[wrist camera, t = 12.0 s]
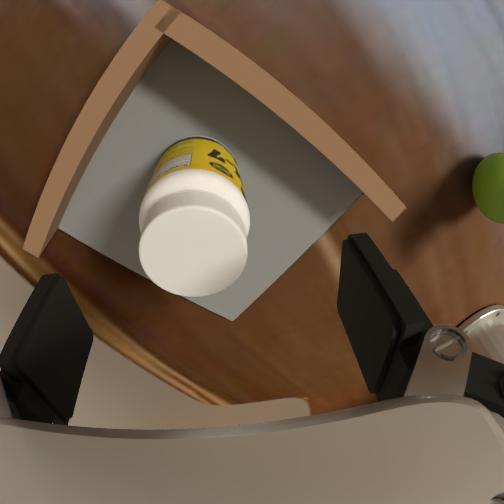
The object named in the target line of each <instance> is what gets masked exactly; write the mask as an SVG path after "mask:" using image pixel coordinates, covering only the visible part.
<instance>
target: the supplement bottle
mask: <svg viewBox="0 0 504 504" xmlns="http://www.w3.org/2000/svg"><path fill="white" fill-rule="evenodd" d="M139 227H140V232H141V236H140V240H139V258H140V262H141V265H142V267H143V269H144V271H145V273H146V274H147V276H148V277H149V278H150V279H151V280H152V281H153V282H154V283H155V284H156V285H158V286H159V287H161V288H162V289H164V290H166V291H168V292H171V293H173V294H177V295H182V296H187V297H201V296H207V295H211V294H215V293H217V292H220V291H222V290H224V289H225V288H227V287H228V286H230V285H231V284H232V283H234V282H235V281H236V280H237V278H238V277H239V276H240V275H241V273H242V271H243V269H244V267H245V265H246V261H247V256H248V248H247V236H248V233H249V228H250V212H249V207H248V203H247V200H246V196H245V192H244V188H243V184H242V180H241V177H240V173H239V169H238V165H237V162H236V160H235V158H234V156H233V154H232V153H231V152H230V150H229V149H228V148H227V147H226V146H225V145H223V144H222V143H221V142H219V141H217V140H215V139H213V138H210V137H206V136H189V137H185V138H182V139H180V140H178V141H176V142H174V143H173V144H171V145H170V146H169V147H168V148H167V149H166V150H165V151H164V153H163V154H162V156H161V157H160V159H159V161H158V164H157V166H156V168H155V171H154V173H153V175H152V178H151V180H150V183H149V185H148V188H147V190H146V193H145V195H144V198H143V200H142V203H141V206H140V212H139Z"/></svg>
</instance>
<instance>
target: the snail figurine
mask: <svg viewBox="0 0 504 504" xmlns="http://www.w3.org/2000/svg"><path fill="white" fill-rule="evenodd" d="M472 192H473V196H474V200H475V202H476V204H477V206H478V208H479V209H480V211H481V212H482V213H483V214H484V215H485V216H486V217H487V218H489V219H490V220H492V221H494V222H497V223H502V224H504V153H494V154H491V155H489V156H487V157H485V158H484V159H483V160H482V161H481V162H480V163H479V164H478V166H477V167H476V169H475V172H474V175H473V179H472Z"/></svg>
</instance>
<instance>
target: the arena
mask: <svg viewBox="0 0 504 504" xmlns="http://www.w3.org/2000/svg"><path fill="white" fill-rule="evenodd" d="M189 136H206V137H210V138H213V139H215V140H217V141H219V142H221V143H222V144H223V145H225V146H226V147H227V148H228V149H229V150H230V152H231V153H232V154H233V156H234V158H235V160H236V162H237V165H238V169H239V173H240V177H241V180H242V184H243V188H244V192H245V196H246V200H247V203H248V207H249V212H250V228H249V233H248V236H247V248H248V256H247V261H246V265H245V267H244V269H243V271H242V273H241V275H240V276H239V277H238V278H237V280H236V281H235V282H234V283H232V284H231V285H230V286H228V287H227V288H225V289H224V290H222V291H220V292H217V293H215V294H211V295H207V296H201V297H187V296H182V295H180V296H182V297H184V298H186V299H188V300H190V301H192V302H194V303H196V304H198V305H200V306H202V307H204V308H206V309H208V310H210V311H212V312H214V313H216V314H218V315H220V316H222V317H225V318H227V319H229V320H231V321H234V320H235V319H236V318H237V317H238V316H239V315H240V314H241V313H242V312H243V311H244V310H245V309H246V308H247V307H248V306H249V305H250V304H251V303H253V302H254V301H255V300H256V299H257V298H258V297H259V296H260V295H261V294H262V293H263V292H264V291H265V290H266V289H267V288H268V287H269V286H270V285H271V284H272V283H273V282H274V281H275V280H276V279H277V278H278V277H279V276H281V275H282V274H283V273H284V272H285V271H286V270H287V269H288V268H289V267H290V266H291V265H292V264H293V263H294V262H295V261H296V260H297V259H298V258H299V257H300V256H301V255H302V254H303V253H304V252H305V251H306V250H307V249H308V248H309V247H310V246H311V245H312V244H313V243H314V242H315V241H316V240H317V239H318V238H319V237H320V236H321V235H322V234H323V233H324V232H325V231H326V230H327V229H328V228H329V227H330V226H331V225H332V224H333V223H334V222H335V221H336V220H337V219H338V218H339V217H340V216H341V215H342V214H343V213H344V212H345V211H346V210H347V209H348V208H349V207H350V206H351V205H352V204H353V202H354V201H355V200H356V199H357V198H358V197H359V196H360V195H361V194H362V193H363V192H364V193H365V194H366V195H367V196H368V197H369V198H370V199H371V200H372V201H373V202H374V203H375V204H376V205H377V206H378V207H379V208H380V209H381V210H382V211H383V212H384V213H385V214H386V215H387V217H388V218H389V219H390V220H391V221H392V222H393V221H394V220H395V219H396V218H397V217H398V216H399V215H400V214H401V213H402V212H403V211H404V210H405V209H406V206H405V205H404V204H403V203H402V202H401V201H400V200H399V198H398V197H397V196H396V195H395V194H394V193H393V192H392V190H391V189H390V188H389V187H388V186H387V185H386V184H385V183H384V182H383V181H382V179H381V178H380V177H379V176H378V175H377V174H376V173H375V172H374V171H373V170H372V169H371V168H370V167H369V166H368V165H367V163H366V162H365V161H364V160H363V159H362V158H361V157H360V156H359V155H358V154H357V153H356V152H355V151H354V150H353V149H352V148H351V147H350V146H349V145H348V144H347V143H346V142H345V141H344V140H343V139H342V138H341V137H340V136H339V135H338V134H337V133H335V132H334V131H333V130H332V129H331V128H330V127H329V126H328V125H327V124H326V123H325V122H324V121H323V120H322V119H321V118H319V117H318V116H317V115H316V114H315V113H314V112H313V111H312V110H311V109H309V108H308V107H307V106H306V105H305V104H304V103H303V102H302V101H300V100H299V99H298V98H297V97H296V96H295V95H293V94H292V93H291V92H290V91H289V90H288V89H286V88H285V87H284V86H283V85H282V84H280V83H279V82H278V81H277V80H276V79H274V78H273V77H272V76H271V75H269V74H268V73H267V72H266V71H264V70H263V69H262V68H260V67H259V66H258V65H257V64H255V63H254V62H253V61H251V60H250V59H249V58H247V57H246V56H245V55H243V54H242V53H241V52H239V51H238V50H237V49H235V48H234V47H233V46H231V45H230V44H228V43H227V42H226V41H224V40H223V39H221V38H220V37H219V36H217V35H216V34H214V33H213V32H211V31H210V30H208V29H207V28H205V27H204V26H202V25H201V24H199V23H198V22H196V21H195V20H193V19H192V18H190V17H189V16H187V15H185V14H184V13H182V12H181V11H179V10H177V9H176V8H174V7H172V6H171V5H169V4H167V3H166V2H164V1H162V0H158V1H157V2H156V3H155V4H154V6H153V7H152V8H151V9H150V10H149V12H148V13H147V14H146V15H145V17H144V18H143V19H142V20H141V22H140V23H139V24H138V26H137V27H136V28H135V29H134V31H133V32H132V33H131V35H130V36H129V37H128V39H127V40H126V42H125V43H124V44H123V46H122V47H121V49H120V50H119V51H118V53H117V54H116V56H115V57H114V59H113V60H112V62H111V63H110V65H109V66H108V68H107V69H106V71H105V72H104V74H103V75H102V77H101V79H100V80H99V82H98V83H97V85H96V87H95V88H94V90H93V92H92V93H91V95H90V97H89V98H88V100H87V102H86V104H85V105H84V107H83V109H82V111H81V112H80V114H79V116H78V118H77V120H76V122H75V123H74V125H73V127H72V129H71V131H70V133H69V135H68V137H67V139H66V141H65V143H64V145H63V147H62V149H61V151H60V153H59V155H58V158H57V160H56V162H55V164H54V166H53V169H52V171H51V173H50V175H49V178H48V180H47V183H46V185H45V187H44V190H43V192H42V195H41V197H40V200H39V202H38V205H37V208H36V210H35V213H34V216H33V219H32V221H31V224H30V227H29V230H28V233H27V236H26V239H25V242H24V246H23V249H24V250H26V251H27V252H29V253H30V254H32V255H34V256H35V257H37V258H39V256H40V255H41V253H42V252H43V250H44V248H45V247H46V245H47V244H48V242H49V241H50V239H51V238H52V236H53V235H54V233H55V232H56V230H57V229H58V228H59V229H61V230H62V231H64V232H66V233H67V234H69V235H71V236H72V237H74V238H76V239H77V240H79V241H81V242H83V243H84V244H86V245H88V246H89V247H91V248H93V249H95V250H96V251H98V252H100V253H102V254H103V255H105V256H107V257H109V258H111V259H112V260H114V261H116V262H118V263H120V264H121V265H123V266H125V267H127V268H129V269H130V270H132V271H134V272H136V273H138V274H140V275H142V276H143V277H145V278H147V279H149V280H151V279H150V278H149V277H148V276H147V274H146V273H145V271H144V269H143V267H142V265H141V262H140V258H139V240H140V236H141V232H140V227H139V212H140V206H141V203H142V200H143V198H144V195H145V193H146V190H147V188H148V185H149V183H150V180H151V178H152V175H153V173H154V171H155V168H156V166H157V164H158V161H159V159H160V157H161V156H162V154H163V153H164V151H165V150H166V149H167V148H168V147H169V146H170V145H171V144H173V143H174V142H176V141H178V140H180V139H182V138H185V137H189ZM151 281H152V280H151Z"/></svg>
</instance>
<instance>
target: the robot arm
mask: <svg viewBox="0 0 504 504" xmlns="http://www.w3.org/2000/svg"><path fill="white" fill-rule="evenodd" d="M337 308H338V313H339V315H340V318H341V320H342V323H343V325H344V328H345V330H346V333H347V335H348V338H349V340H350V343H351V345H352V348H353V351H354V353H355V356H356V358H357V361H358V364H359V366H360V369H361V371H362V374H363V377H364V379H365V382H366V385H367V388H368V390H369V392H370V393H371V394H372V393H375V395H376V397H377V400H378V401H380V402H375V403H370V404H365V405H361V406H357V407H352V408H347V409H343V410H338V411H333V412H327V413H322V414H316V415H310V416H305V417H299V418H293V419H286V420H280V421H273V422H265V423H258V424H248V425H238V426H227V427H215V428H199V429H175V430H174V429H172V430H130V429H105V428H90V427H77V426H68V421H69V419H70V418H71V417H72V416H73V412H74V407H75V404H76V399H77V395H78V392H79V388H80V384H81V380H82V377H83V373H84V370H85V366H86V362H87V359H88V356H89V352H90V349H91V346H92V342H93V333H92V330H91V329H90V327H89V325H88V323H87V321H86V320H85V318H84V316H83V314H82V312H81V310H80V309H79V307H78V305H77V303H76V301H75V299H74V297H73V295H72V293H71V291H70V289H69V287H68V285H67V283H66V281H65V279H64V278H63V277H60V275H59V274H56V273H55V274H48V275H43V276H42V277H41V278H40V280H39V282H38V284H37V285H36V287H35V289H34V291H33V292H32V294H31V296H30V297H29V299H28V301H27V303H26V305H25V307H24V308H23V310H22V312H21V314H20V316H19V318H18V319H17V321H16V323H15V325H14V327H13V329H12V331H11V333H10V335H9V337H8V339H7V341H6V343H5V345H4V347H3V349H2V352H1V354H0V368H1V371H0V504H504V306H503V305H492V306H490V307H487V308H485V309H483V310H481V311H479V312H477V313H476V314H474V315H473V316H471V317H470V318H469V319H467V320H466V321H465V322H464V323H462V324H461V325H460V326H459V327H458V328H457V327H455V326H453V325H448V324H439V325H436V326H433V325H432V323H431V322H430V320H429V318H428V317H427V315H426V314H425V312H424V311H423V309H422V307H421V306H420V304H419V303H418V301H417V300H416V298H415V297H414V295H413V294H412V292H411V291H410V289H409V288H408V286H407V285H406V283H405V282H404V280H403V279H402V277H401V276H400V274H399V273H398V272H397V271H396V270H394V269H392V268H391V267H390V265H389V264H388V262H387V261H386V259H385V258H384V256H383V255H382V254H381V252H380V251H379V249H378V248H377V246H376V245H375V244H374V242H373V241H372V240H371V238H370V237H369V235H368V234H367V233H359V234H351V235H349V236H348V238H347V240H343V243H342V254H341V267H340V279H339V289H338V299H337ZM388 398H389V400H385V399H388ZM381 400H385V401H381ZM52 423H53V424H52Z"/></svg>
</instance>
